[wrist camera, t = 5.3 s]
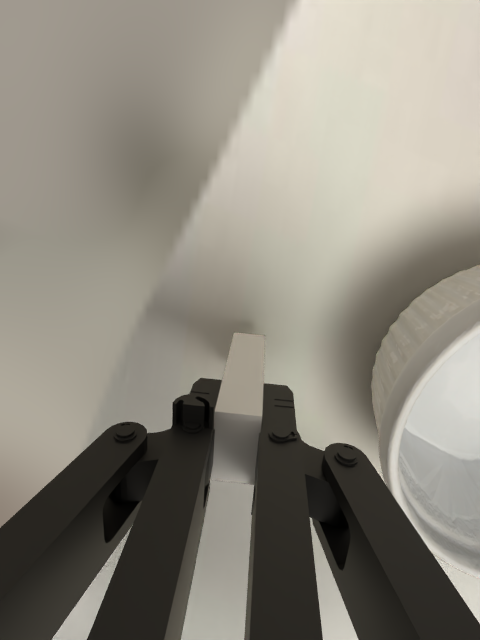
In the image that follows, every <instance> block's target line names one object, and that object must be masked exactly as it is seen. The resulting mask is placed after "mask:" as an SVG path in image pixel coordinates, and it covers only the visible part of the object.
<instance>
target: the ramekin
mask: <svg viewBox="0 0 480 640" xmlns="http://www.w3.org/2000/svg"><path fill="white" fill-rule="evenodd" d="M372 374H373V379H372V382H371V389H372V404H373V409H374V415H375V420H376V425H377V429H378V433H379V458H380V463H381V469H382V473H383V477H384V480H385V482H386V485H387V487H388V489H389V490H390V492H391V493H392V495H393V496H394V498H395V499H396V501H397V502H398V504H399V505H400V507H401V508H402V510H403V511H404V513H405V514H406V516H407V517H408V519H409V520H410V522H411V523H412V525H413V526H414V527H415V529H416V530H417V532H418V533H419V535H420V536H421V538H422V539H423V541H424V542H425V544H426V545H427V547H428V548H429V550H430V551H431V553H432V554H433V555H435V556H437V557H438V558H439V559H441V560H442V561H444V562H445V563H447V564H449V565H450V566H452V567H454V568H456V569H458V570H460V571H462V572H464V573H466V574H468V575H471V576H473V577H476V578H478V579H480V265H476V266H474V267H472V268H470V269H468V270H462V271H459V272H457V273H456V274H454V275H453V276H451V277H448V278H445V279H443V280H441V281H440V282H438V283H437V284H436V285H435V286H433V287H430V288H428V289H427V290H426V291H424V292H423V293H422V294H421V295H420V296H419V297H417V298H415V299H414V300H413V301H412V302H411V304H410V305H409V306H408V307H407V308H406V309H405V310H404V311H402V312H401V313H400V315H399V317H398V319H397V321H396V322H394V323H393V324H392V325H391V326H390V328H389V331H388V334H387V335H386V336H385V337H384V338H383V340H382V342H381V347H380V349H379V350H378V352H377V353H376V363H375V365H374V367H373V370H372Z"/></svg>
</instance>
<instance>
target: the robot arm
mask: <svg viewBox="0 0 480 640" xmlns="http://www.w3.org/2000/svg"><path fill="white" fill-rule="evenodd" d="M264 359H265V335H256V334H246V333H235V332H234V334H233V338H232V342H231V346H230V350H229V354H228V359H227V363H226V367H225V371H224V375H223V379H222V380H215V379H205V378H200V379H199V380H198V381H196V382H195V383H194V384H193V386H192V389H191V392H190V394H188V395H184V396H181V397H179V398H177V399H176V400H175V401H174V402H173V425H172V427H171V429H169V430H166V431H162V432H157V433H148V434H147V430H146V428H145V427H144V426H143V425H141V424H139V423H135V422H123V423H119V424H116V425H113V426H112V427H110V428H109V429H107V430H106V431H105V432H104V433H103V434H102V435H101V436H99V437H98V438H97V439H96V440H95V441H94V442H93V443H92V444H91V445H90V446H89V447H88V448H86V449H85V450H84V451H83V452H82V453H81V454H80V455H79V456H78V457H77V458H76V459H75V460H73V461H72V462H71V463H70V464H69V465H68V466H67V467H66V468H65V469H64V470H63V471H62V472H60V473H59V474H58V475H57V476H56V477H55V478H54V479H53V480H52V481H51V482H50V483H48V484H47V485H46V486H45V487H44V488H43V489H42V490H41V491H40V492H39V493H38V494H37V495H35V496H34V497H33V498H32V499H31V500H30V501H29V502H28V503H27V504H26V505H25V506H24V507H22V508H21V509H20V510H19V511H18V512H17V513H16V514H15V515H14V516H13V517H12V518H11V519H10V520H8V521H7V522H6V523H5V524H4V525H3V526H2V527H1V528H0V640H51V639H52V638H53V636H54V635H55V634H56V632H57V631H58V629H59V628H60V627H61V625H62V624H63V622H64V621H65V619H66V618H67V617H68V615H69V614H70V612H71V611H72V609H73V608H74V607H75V605H76V604H77V602H78V601H79V600H80V598H81V597H82V595H83V594H84V592H85V591H86V590H87V588H88V587H89V585H90V584H91V583H92V581H93V580H94V578H95V577H96V575H97V574H98V573H99V571H100V570H101V568H102V567H103V566H104V564H105V563H106V561H107V560H108V558H109V557H110V556H111V554H112V553H113V551H114V550H115V549H116V547H117V546H118V544H119V543H120V541H121V540H122V539H123V537H124V536H125V534H126V533H127V532H128V530H129V529H130V527H131V526H132V524H133V526H132V528H131V531H130V533H129V536H128V538H127V541H126V543H125V546H124V548H123V551H122V553H121V556H120V558H119V561H118V563H117V566H116V568H115V571H114V573H113V576H112V578H111V581H110V583H109V586H108V588H107V591H106V594H105V596H104V599H103V601H102V604H101V606H100V609H99V611H98V614H97V616H96V619H95V621H94V624H93V626H92V629H91V631H90V634H89V636H88V639H87V640H181V635H182V630H183V624H184V619H185V614H186V609H187V604H188V599H189V594H190V589H191V583H192V578H193V573H194V568H195V563H196V558H197V553H198V547H199V542H200V537H201V532H202V527H203V522H204V517H205V511H206V506H207V501H208V496H209V488H210V477H211V480H217V481H226V482H235V483H244V484H252V485H254V494H253V503H252V513H251V515H252V524H251V540H250V557H249V573H248V589H247V606H246V622H245V638H244V640H323V638H322V628H321V619H320V610H319V601H318V592H317V582H316V573H315V564H314V555H313V545H312V536H311V527H310V518H309V517H311V518H312V520H313V525H314V527H315V530H316V533H317V535H318V538H319V540H320V543H321V545H322V548H323V550H324V553H325V555H326V558H327V560H328V563H329V566H330V568H331V571H332V573H333V576H334V578H335V581H336V583H337V586H338V588H339V591H340V593H341V596H342V599H343V601H344V604H345V606H346V609H347V611H348V614H349V616H350V619H351V621H352V624H353V626H354V629H355V632H356V634H357V637H358V639H359V640H480V624H479V622H478V621H477V619H476V618H475V616H474V615H473V613H472V612H471V611H470V609H469V608H468V606H467V605H466V603H465V602H464V600H463V599H462V597H461V596H460V594H459V593H458V591H457V590H456V588H455V587H454V585H453V584H452V582H451V581H450V579H449V578H448V576H447V575H446V573H445V572H444V570H443V569H442V568H441V566H440V565H439V563H438V562H437V560H436V559H435V557H434V556H433V554H432V553H431V551H430V550H429V548H428V547H427V545H426V544H425V542H424V541H423V539H422V538H421V536H420V535H419V533H418V532H417V530H416V529H415V527H414V526H413V525H412V523H411V522H410V520H409V519H408V517H407V516H406V514H405V513H404V511H403V510H402V508H401V507H400V505H399V504H398V502H397V501H396V499H395V498H394V496H393V495H392V493H391V492H390V490H389V489H388V487H387V486H386V484H385V483H384V482H383V480H382V479H381V477H380V476H379V474H378V473H377V471H376V470H375V468H374V467H373V465H372V464H371V462H370V461H369V459H368V458H367V456H366V455H365V454H364V453H363V452H362V451H361V450H359V449H357V448H356V447H354V446H351V445H348V444H343V443H335V444H331V445H329V446H328V447H326V449H325V451H322V450H319V449H316V448H314V447H311V446H309V445H308V444H306V443H304V442H303V441H302V440H301V437H300V435H299V433H298V432H297V429H296V419H295V409H294V399H293V393H292V391H291V390H290V389H289V388H288V386H284V385H274V384H264Z"/></svg>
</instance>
